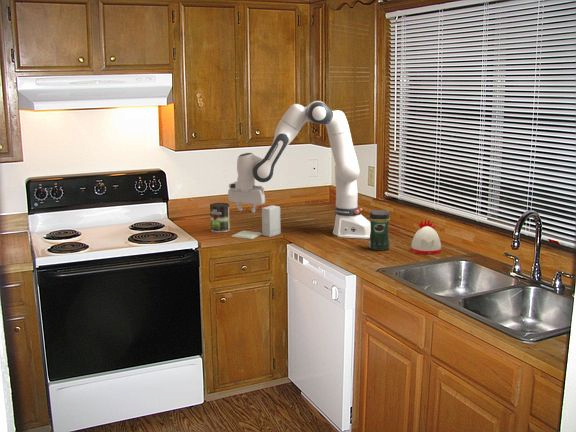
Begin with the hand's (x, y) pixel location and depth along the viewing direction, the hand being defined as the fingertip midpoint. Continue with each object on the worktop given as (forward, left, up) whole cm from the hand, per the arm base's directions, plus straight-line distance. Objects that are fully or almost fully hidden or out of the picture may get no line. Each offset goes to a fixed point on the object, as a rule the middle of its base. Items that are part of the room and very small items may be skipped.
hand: (246, 211), depth 334 cm
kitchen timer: (-91, -10, -13) cm, 92 cm away
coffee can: (+19, -4, -13) cm, 23 cm away
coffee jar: (-70, -4, -13) cm, 71 cm away
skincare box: (-11, -6, -13) cm, 18 cm away
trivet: (0, 0, -13) cm, 13 cm away
